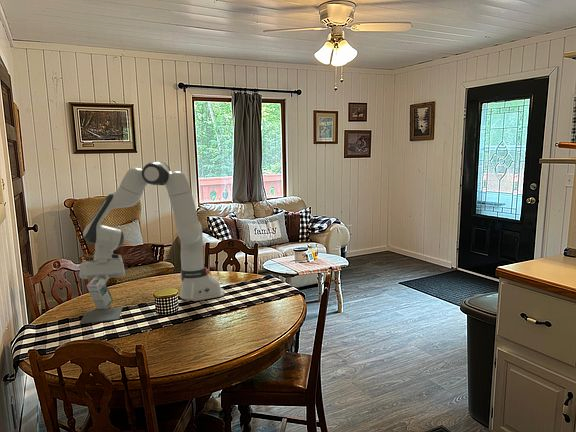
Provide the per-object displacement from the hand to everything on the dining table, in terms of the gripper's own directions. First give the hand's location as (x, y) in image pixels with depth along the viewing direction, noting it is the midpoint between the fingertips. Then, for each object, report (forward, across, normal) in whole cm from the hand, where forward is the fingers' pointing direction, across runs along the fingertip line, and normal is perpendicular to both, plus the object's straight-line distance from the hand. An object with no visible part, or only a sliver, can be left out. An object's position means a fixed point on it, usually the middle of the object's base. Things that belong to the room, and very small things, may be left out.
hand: (101, 284), depth 203 cm
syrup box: (+7, +1, +7) cm, 10 cm away
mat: (+16, +2, -1) cm, 17 cm away
